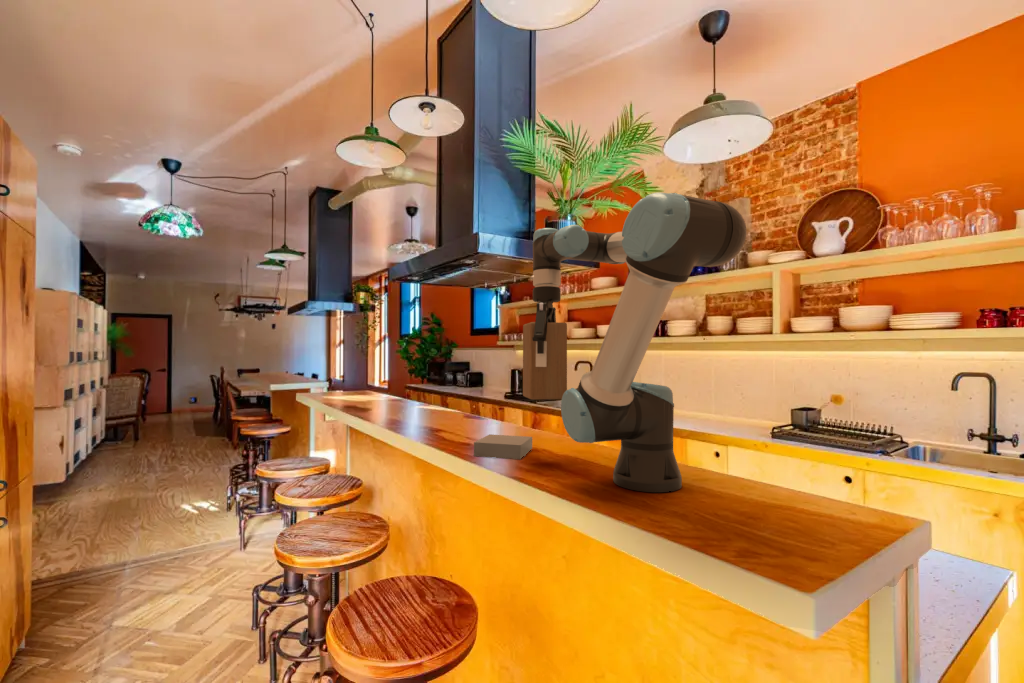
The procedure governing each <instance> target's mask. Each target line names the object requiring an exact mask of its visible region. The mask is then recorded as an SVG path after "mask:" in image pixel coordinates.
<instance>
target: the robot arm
mask: <svg viewBox="0 0 1024 683" xmlns="http://www.w3.org/2000/svg"><path fill="white" fill-rule="evenodd" d="M626 216H627V217H626V218H625V220H624V224H623V228H622V231H617V232H611V233H607V232H595V231H588V230H586V229H585V228H583V227H582V226H581V225H579V224H570V225H565V226H564V227H561V228H559V229H557V228H554V227H553V228H552V227H542V228H538V229H536V230H535V231H534V233H533V240H532V245H531V246H532V274H533V275H531V276H530V279H531V280H532V285H533V289H532V301H533V302H534V303H536V313H535V321H534V322H535V330H534V337H533V341H536V367H547V341H545V340H546V335H547V323H548V322H556V323H557V318H556V317H557V316H556V312H557V311H556V307H555V306H554V305H553V304H554V303H558V302H560V301H561V287H560V286H561V285H562V283H561V282H562V280H561V279H562V278H561V277H562V276H561V263H562V262H563V261H566V260H571V261H572V260H573V261H583V262H595V263H603V264H604V263H605V264H609V265H623V264H626V265H627V268H628V270H629V272H628V275H627V278H626V281H625V282H624V285H623V288H622V291H621V294H620V296H619V299H618V302H617V304H616V307H615V309H614V312H613V314H612V317H611V320H610V321H609V324H608V327H607V330H606V333H605V336H604V338H603V341H602V344H601V346H600V348H599V352H598V354H597V357H596V359H595V361H594V364H593V368H592V370H591V371H590V370H589V371H588V372H585V373H584V374H583V375H582V376H581V378H580V381H579V382H578V386H577V388H574V387H571V388H569V389H567V390H566V391H565V392H564V394H563V396H562V399H561V400H560V401H561V402H560V403H561V404H560V412H561V418H562V423H563V427H564V429H565V431H566V433H567V434H568V435H569V437H570V438H571V439H572V440H573V441H574V442H577V443H589V444H594V443H602V442H613V441H620V450H619V454H618V456H617V459H616V463H615V465H614V469H613V471H612V472H613V475H612V476H613V477H612V478H613V479H612V480H613V483H614V484H615V485H617V486H618V487H620V488H621V487H622V488H624V489H628V490H632V491H636V492H645V493H670V492H669V491H671V492H675V491H678V490H680V489H682V486H683V485H682V484H683V482H682V481H683V479H682V478H683V477H682V474H681V471H680V467H679V465H678V462H677V461H678V460H677V459H676V456H675V452H674V414H675V413H674V411H675V410H674V408H675V403H674V397H673V396H674V395H673V394H674V393H673V391H672V389H671V388H670V387H669V386H666V385H661V384H653V383H645V382H638V381H634V380H635V377H637V376H636V375H637V373H638V371H639V368H640V367H641V364H642V361H643V359H644V357H645V355H646V353H647V350H648V349H649V346H650V343H651V341H652V340H653V337H654V334H655V333H656V330H657V329H658V325H659V323H660V321H661V319H662V317H663V314H664V312H665V310H666V309H667V308H666V307H667V305H668V303H669V301H670V298H671V297H672V295H673V292H674V290H675V288H676V287H678V286H681V285H683V284H686V283H687V281H688V279H689V278H690V275H691V273H692V271H693V269H694V267H706V268H707V267H708V268H709V267H710V268H711V267H718V266H722V265H725V264H727V263H729V262H731V261H732V260H733V259H735V258H736V257H737V256H738V254H739V253H740V252H741V250H742V249H743V247H744V245H745V242H746V239H747V234H748V233H747V225H746V222H745V219H744V218H743V216H742V214H741V212H739V211H738V209H736V208H735V207H734V206H732V205H729V204H728V203H725V202H722V201H718V200H717V201H716V200H709V199H704V198H701V197H700V198H699V197H694V196H690V195H685V194H681V193H676V192H670V193H667V192H653V193H650V194H647V195H646V196H645V197H643V198H641V199H639V200H638V201H637V202H636V203H635V204H634V205H633V207H632V208H631V209H630V211H629V213H628V214H627V215H626Z"/></svg>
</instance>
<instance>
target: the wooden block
mask: <svg viewBox="0 0 1024 683" xmlns="http://www.w3.org/2000/svg"><path fill="white" fill-rule="evenodd" d="M534 330H535V321H531V322H528V323H525V324H523V325H522V396H523V397H525V398H526V399H529V400H562V396H563V394H564V392H565V391H566V390H568V324H567V322H557V321H556V322H548V323H547V335H546V340H545V341H547V367H536V341H533V337H534Z"/></svg>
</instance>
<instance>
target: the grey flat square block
mask: <svg viewBox="0 0 1024 683" xmlns="http://www.w3.org/2000/svg"><path fill="white" fill-rule="evenodd" d="M531 449H532V450H533V436H526V435H525V436H524V435H507V434H487V435H485V436H483V437H481V438H480V439H478V440H476V441H474V442H473V456H474V457H478V456H480V457H482V458H492V457H496V459H507V458H513V459H512V460H522V459H523V458H524V457H526V456H527V455H528V454H529V453H530V452H531V451H532V450H531ZM530 450H531V451H530ZM529 451H530V452H529ZM528 452H529V453H528ZM527 453H528V454H527ZM526 454H527V455H526ZM523 456H524V457H523ZM480 457H479V458H480ZM522 457H523V458H522ZM521 458H522V459H521Z"/></svg>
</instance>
